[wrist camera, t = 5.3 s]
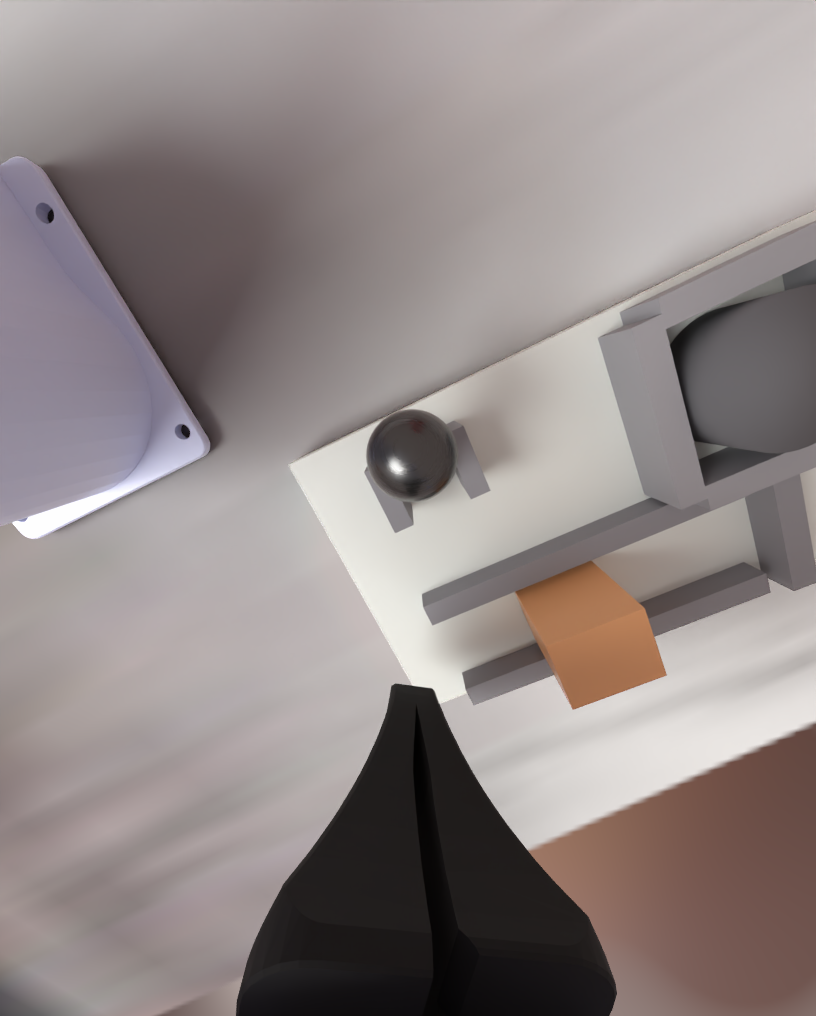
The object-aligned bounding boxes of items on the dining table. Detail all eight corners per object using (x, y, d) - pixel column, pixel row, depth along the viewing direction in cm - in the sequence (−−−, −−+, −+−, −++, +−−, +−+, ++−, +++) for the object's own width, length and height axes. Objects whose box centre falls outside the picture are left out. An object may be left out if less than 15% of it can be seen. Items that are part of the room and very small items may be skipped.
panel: (299, 457, 14) (267, 477, 11) (769, 230, 12) (908, 168, 9) (424, 682, 17) (429, 753, 14) (818, 527, 15) (937, 565, 12)
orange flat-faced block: (512, 587, 14) (546, 646, 11) (586, 556, 14) (644, 608, 10) (534, 638, 14) (572, 709, 11) (606, 610, 14) (666, 675, 11)
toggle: (387, 461, 13) (339, 423, 8) (443, 435, 12) (432, 378, 7) (411, 517, 12) (379, 516, 7) (469, 491, 12) (475, 473, 7)
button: (640, 343, 12) (699, 331, 9) (774, 281, 11) (871, 251, 9) (672, 462, 13) (732, 477, 10) (796, 409, 12) (888, 412, 10)
